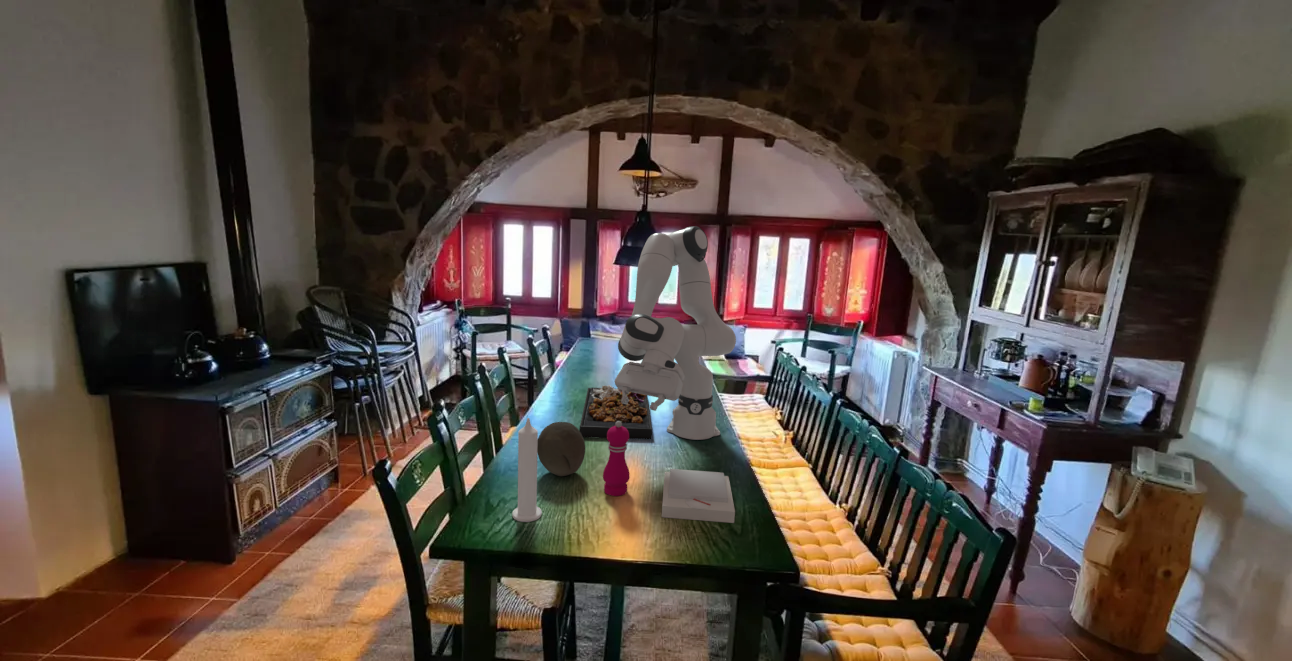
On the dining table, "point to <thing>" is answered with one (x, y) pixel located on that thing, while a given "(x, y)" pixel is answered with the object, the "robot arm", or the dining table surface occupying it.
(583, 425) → the food platter
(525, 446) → the candle
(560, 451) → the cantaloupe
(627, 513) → the dining table surface
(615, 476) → the pepper mill
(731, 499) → the kitchen scale
